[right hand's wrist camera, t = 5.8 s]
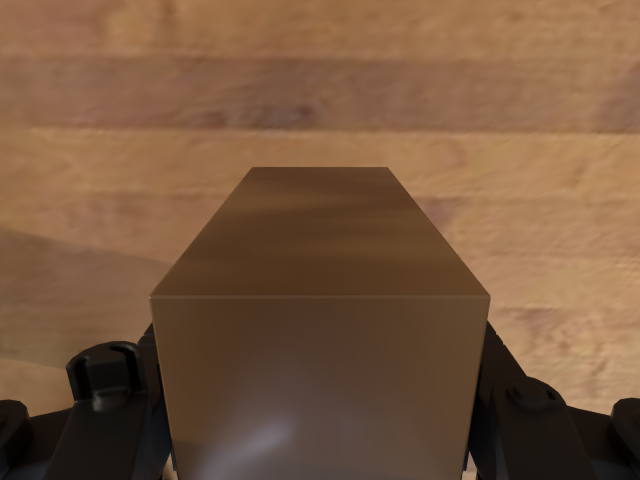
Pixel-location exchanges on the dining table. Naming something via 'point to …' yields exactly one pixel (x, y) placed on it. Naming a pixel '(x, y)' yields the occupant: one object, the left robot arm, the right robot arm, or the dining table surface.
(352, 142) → the dining table surface
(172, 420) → the block
